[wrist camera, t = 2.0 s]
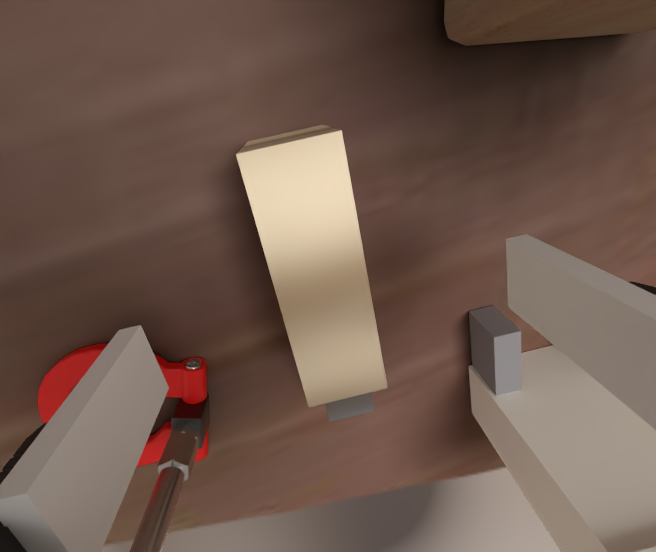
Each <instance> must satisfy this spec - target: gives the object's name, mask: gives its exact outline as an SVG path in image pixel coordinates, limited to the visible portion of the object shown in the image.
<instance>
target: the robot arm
mask: <svg viewBox="0 0 656 552" xmlns="http://www.w3.org/2000/svg"><path fill="white" fill-rule="evenodd" d="M506 253H507V286H508V307H509V308H510V309H511V310H512V311H514V312H515V313H516V314H517V315H518V316H520V317H521V318H522V319H523V320H524V321H525V322H527V323H528V324H529V325H530V326H531V327H533V328H534V329H535V330H536V331H537V332H539V333H540V334H541V335H542V336H543V337H545V338H546V339H547V340H548V341H549V342H551V343H552V344H553V345H554V346H555V347H557V348H558V349H559V350H560V351H561V352H563V353H564V354H565V355H566V356H567V357H569V358H570V359H571V360H572V361H573V362H575V363H576V364H577V365H578V366H579V367H581V368H582V369H583V370H584V371H585V372H587V373H588V374H589V375H590V376H591V377H593V378H594V379H595V380H596V381H597V382H599V383H600V384H601V385H602V386H603V387H605V388H606V389H607V390H608V391H609V392H611V393H612V394H613V395H614V396H615V397H617V398H618V399H619V400H620V401H621V402H623V403H624V404H625V405H626V406H627V407H629V408H630V409H631V410H632V411H633V412H635V413H636V414H637V415H638V416H639V417H641V418H642V419H643V420H644V421H645V422H647V423H648V424H649V425H650V426H651V427H653V428H654V429H655V430H656V288H655V287H652V286H648V285H644V284H640V283H636V282H627V281H624V280H622V279H620V278H618V277H616V276H614V275H612V274H610V273H608V272H606V271H603V270H601V269H599V268H597V267H595V266H593V265H591V264H589V263H587V262H584V261H582V260H580V259H578V258H576V257H574V256H572V255H570V254H568V253H565V252H563V251H561V250H559V249H557V248H555V247H553V246H551V245H549V244H546V243H544V242H542V241H540V240H538V239H536V238H534V237H532V236H530V235H527V234H526V235H522V236H517V237H513V238H509V239H506ZM168 389H169V387H168V384H167V382H166V380H165V378H164V375H163V373H162V371H161V369H160V367H159V364H158V362H157V360H156V358H155V355H154V353H153V351H152V349H151V347H150V344H149V342H148V340H147V338H146V335H145V333H144V331H143V329H142V327H141V325H138V326H134V327H129V328H125V329H121V330H118V332H117V333H116V334H115V336H114V337H113V338H112V340H111V341H110V342H109V343H108V345H107V346H106V347H105V349H104V350H103V351H102V353H101V354H100V355H99V357H98V358H97V359H96V360H95V362H94V363H93V364H92V366H91V367H90V368H89V370H88V371H87V372H86V373H85V375H84V376H83V377H82V379H81V380H80V381H79V383H78V384H77V385H76V387H75V388H74V389H73V390H72V392H71V393H70V394H69V396H68V397H67V398H66V400H65V401H64V402H63V403H62V405H61V406H60V407H59V409H58V410H57V411H56V413H55V414H54V415H53V417H52V418H51V419H50V420H49V422H46V423H44V424H43V425H42V426H41V427H40V428H38V429H37V430H36V431H35V432H34V433H33V434H31V435H30V436H29V437H28V438H27V439H26V440H25V441H24V442H23V444H22V445H21V446H20V448H19V449H18V450H17V451H16V453H15V454H14V455H13V456H14V458H11V459H10V460H9V461H8V463H7V464H6V465H5V466H4V468H3V469H2V470H3V472H0V552H101V551H102V548H103V546H104V543H105V541H106V539H107V536H108V534H109V531H110V529H111V527H112V524H113V522H114V519H115V517H116V515H117V512H118V510H119V507H120V505H121V502H122V500H123V498H124V495H125V493H126V490H127V488H128V486H129V483H130V481H131V478H132V476H133V474H134V471H135V469H136V466H137V464H138V462H139V459H140V457H141V454H142V452H143V450H144V447H145V445H146V442H147V440H148V438H149V435H150V433H151V430H152V428H153V426H154V423H155V421H156V418H157V416H158V414H159V411H160V409H161V406H162V404H163V402H164V399H165V397H166V394H167V392H168Z"/></svg>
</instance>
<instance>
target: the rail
mask: <svg viewBox="0 0 656 552" xmlns="http://www.w3.org/2000/svg"><path fill="white" fill-rule="evenodd" d="M236 157H237V160H238V163H239V167H240V170H241V174H242V177H243V181H244V184H245V188H246V191H247V195H248V198H249V202H250V205H251V209H252V212H253V216H254V219H255V222H256V226H257V229H258V233H259V236H260V240H261V243H262V247H263V250H264V254H265V257H266V261H267V264H268V268H269V271H270V275H271V278H272V281H273V285H274V288H275V292H276V295H277V299H278V302H279V306H280V309H281V313H282V316H283V320H284V323H285V327H286V330H287V334H288V337H289V340H290V344H291V347H292V351H293V354H294V358H295V361H296V365H297V368H298V372H299V375H300V379H301V382H302V386H303V389H304V393H305V396H306V399H307V403H308V406H309V407H313V406H317V405H321V404H325V406H326V409H327V413H328V417H329V421H330V422H332V421H336V420H340V419H344V418H349V417H353V416H357V415H361V414H365V413H369V412H373V411H375V410H374V405H373V400H372V395H371V392H374V391H378V390H382V389H386V388H388V387H387V382H386V376H385V370H384V365H383V359H382V354H381V348H380V342H379V337H378V331H377V326H376V320H375V314H374V309H373V303H372V298H371V292H370V286H369V281H368V275H367V270H366V264H365V258H364V253H363V247H362V241H361V236H360V230H359V225H358V219H357V213H356V208H355V202H354V197H353V191H352V185H351V180H350V174H349V169H348V163H347V157H346V152H345V146H344V141H343V135H342V130H339V129H336V128H332V127H329V126H326V125H319V126H314V127H310V128H305V129H301V130H296V131H292V132H287V133H283V134H279V135H274V136H270V137H265V138H261V139H256V140H252V141H248V142H247V143H246V144H245V145H244V146H243V147H242V148H241V149H240V150H239V151H238V153H237V154H236Z"/></svg>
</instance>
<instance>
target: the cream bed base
mask: <svg viewBox="0 0 656 552" xmlns="http://www.w3.org/2000/svg"><path fill="white" fill-rule="evenodd" d="M469 323H470V339H471V354H472V365H470V366H469V380H470V394H471V409H472V414H473V416H474V417H475V419H476V420H477V422H478V423H479V425H480V427H481V428H482V430H483V431H484V433H485V434H486V436H487V437H488V439H489V441H490V442H491V444H492V445H493V447H494V448H495V450H496V451H497V453H498V455H499V456H500V458H501V459H502V461H503V462H504V464H505V465H506V467H507V469H508V470H509V472H510V473H511V475H512V476H513V478H514V479H515V481H516V482H517V484H518V486H519V487H520V489H521V490H522V492H523V493H524V495H525V496H526V498H527V500H528V501H529V503H530V504H531V506H532V507H533V509H534V510H535V512H536V514H537V515H538V517H539V518H540V520H541V521H542V523H543V524H544V526H545V528H546V529H547V531H548V532H549V534H550V535H551V537H552V538H553V540H554V541H555V543H556V545H557V546H558V548H559V549H560V551H561V552H656V430H655V429H654V428H653V427H651V426H650V425H649V424H648V423H647V422H645V421H644V420H643V419H642V418H641V417H639V416H638V415H637V414H636V413H635V412H633V411H632V410H631V409H630V408H629V407H627V406H626V405H625V404H624V403H623V402H621V401H620V400H619V399H618V398H617V397H615V396H614V395H613V394H612V393H611V392H609V391H608V390H607V389H606V388H605V387H603V386H602V385H601V384H600V383H599V382H597V381H596V380H595V379H594V378H593V377H591V376H590V375H589V374H588V373H587V372H585V371H584V370H583V369H582V368H581V367H579V366H578V365H577V364H576V363H575V362H573V361H572V360H571V359H570V358H569V357H567V356H566V355H565V354H564V353H563V352H561V351H560V350H559V349H558V348H557V347H555V346H554V345H551V346H547V347H543V348H539V349H535V350H531V351H527V352H522V353H521V330H520V329H518V328H517V327H516V326H515V325H514V324H513V323H512V322H511V321H510V320H508V319H507V318H506V317H505V316H504V315H503V314H502V313H501V312H500V311H499V310H497V309H496V308H495V307H494V306H493V305H492V306H488V307H484V308H480V309H475V310H471V311H469Z"/></svg>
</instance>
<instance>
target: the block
mask: <svg viewBox="0 0 656 552" xmlns="http://www.w3.org/2000/svg"><path fill="white" fill-rule="evenodd" d="M444 24H445V28H446V32H447V36H448V38H449V39H451V40H453V41H455V42H458V43H460V44H462V45H465V46H470V45H483V44H496V43H509V42H522V41H536V40H549V39H562V38H575V37H588V36H601V35H614V34H628V33H638V32H643V31H647V30H652V29H656V0H445V8H444Z"/></svg>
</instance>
